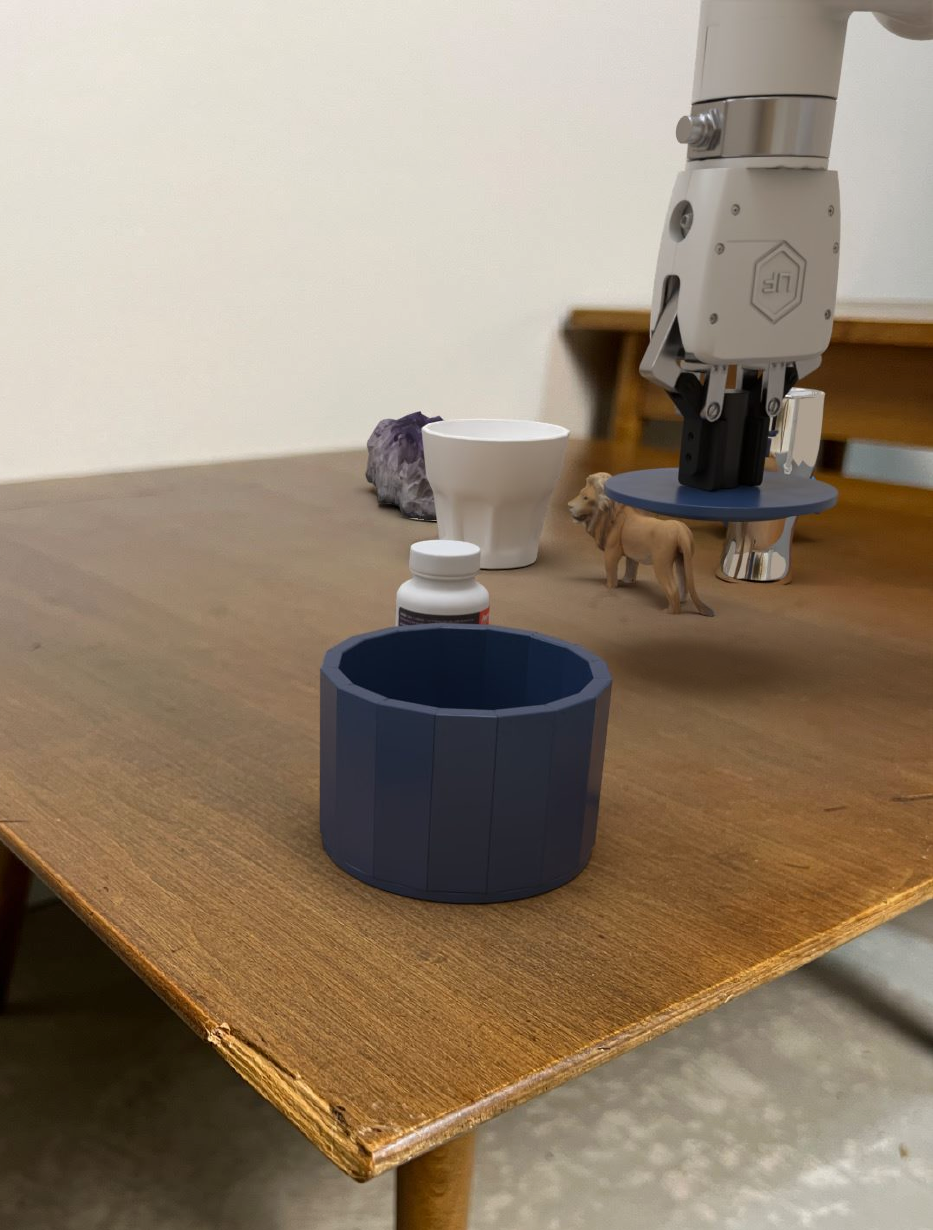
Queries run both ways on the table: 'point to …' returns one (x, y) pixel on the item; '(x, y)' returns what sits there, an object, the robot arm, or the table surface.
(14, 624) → the table surface
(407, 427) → the geode
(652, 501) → the lid
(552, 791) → the pot
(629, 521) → the lion figurine
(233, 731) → the table surface
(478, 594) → the pill bottle
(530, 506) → the cup
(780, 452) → the beer glass
